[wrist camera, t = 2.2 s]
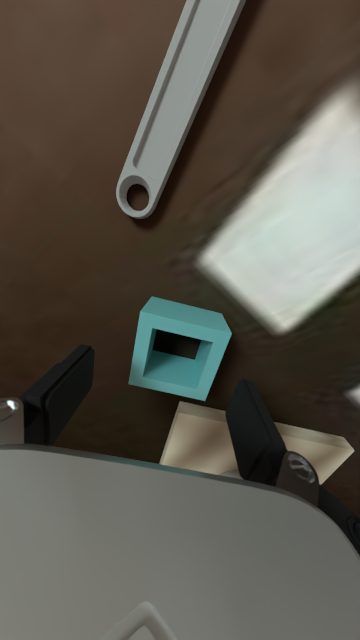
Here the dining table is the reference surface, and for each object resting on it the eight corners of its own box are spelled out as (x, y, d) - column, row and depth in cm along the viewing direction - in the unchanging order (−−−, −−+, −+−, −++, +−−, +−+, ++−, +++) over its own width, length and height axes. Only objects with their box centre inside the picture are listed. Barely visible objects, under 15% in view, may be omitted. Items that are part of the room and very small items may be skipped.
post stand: (343, 437, 21) (467, 588, 12) (271, 517, 28) (311, 647, 19) (179, 401, 20) (171, 533, 11) (149, 493, 27) (129, 618, 18)
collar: (221, 313, 16) (231, 333, 12) (201, 369, 18) (204, 400, 14) (152, 296, 15) (140, 311, 12) (141, 355, 18) (128, 383, 14)
